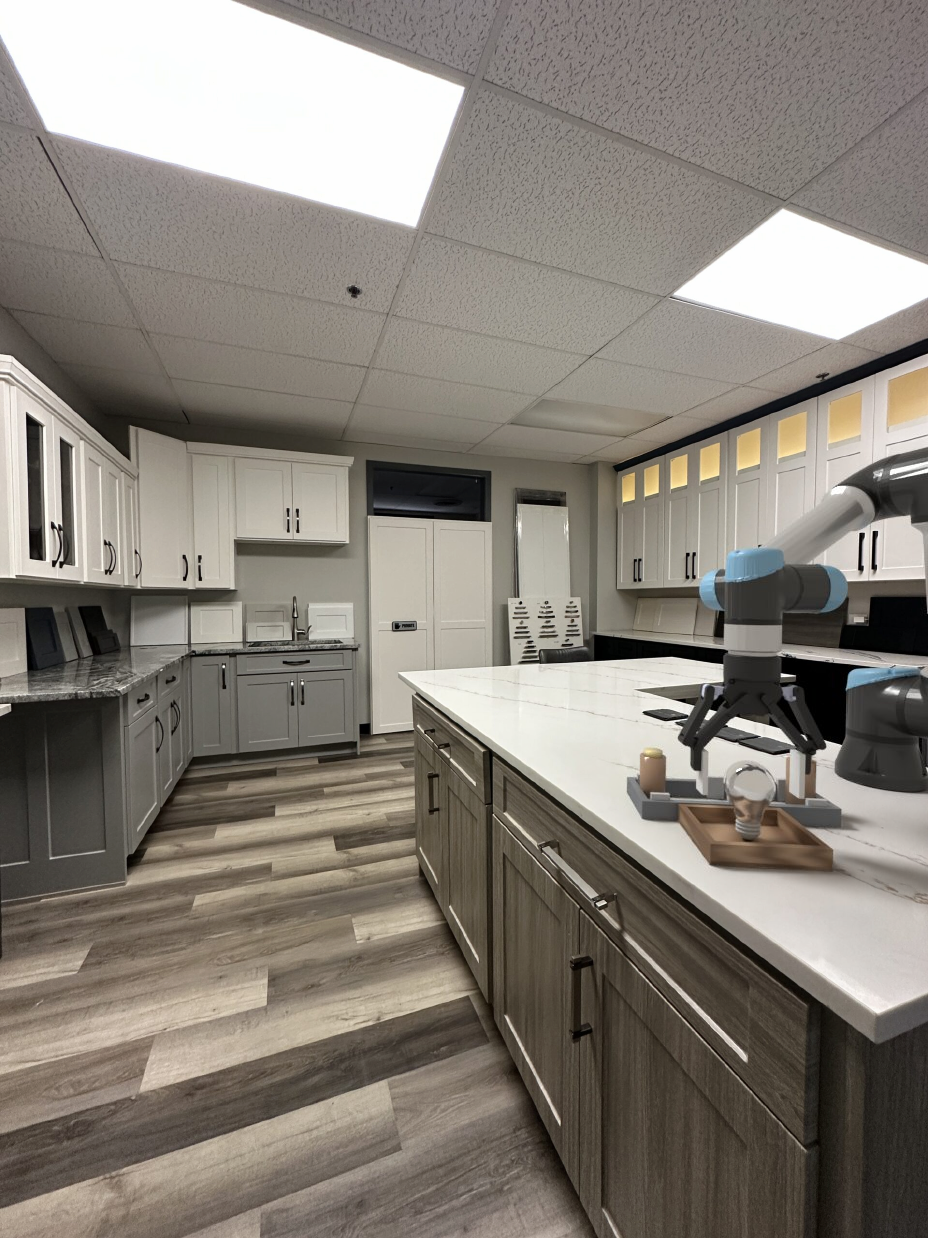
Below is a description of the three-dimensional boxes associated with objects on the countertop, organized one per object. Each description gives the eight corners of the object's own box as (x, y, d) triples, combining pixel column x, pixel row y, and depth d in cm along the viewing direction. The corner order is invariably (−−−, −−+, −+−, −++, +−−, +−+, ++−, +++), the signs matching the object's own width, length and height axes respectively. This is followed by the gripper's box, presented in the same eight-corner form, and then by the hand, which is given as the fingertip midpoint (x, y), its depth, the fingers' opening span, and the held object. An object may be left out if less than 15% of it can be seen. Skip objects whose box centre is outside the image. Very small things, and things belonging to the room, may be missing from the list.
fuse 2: (806, 806, 91) (807, 751, 91) (820, 817, 87) (822, 759, 86) (780, 805, 91) (781, 750, 91) (793, 816, 87) (794, 758, 87)
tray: (779, 826, 83) (780, 808, 83) (832, 871, 69) (833, 849, 69) (678, 821, 85) (678, 803, 85) (710, 865, 71) (710, 844, 71)
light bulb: (782, 853, 73) (784, 770, 73) (729, 848, 74) (731, 766, 74) (764, 832, 80) (766, 756, 79) (716, 827, 81) (718, 753, 81)
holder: (800, 798, 95) (800, 777, 94) (841, 827, 83) (841, 803, 83) (626, 792, 98) (627, 771, 98) (642, 818, 86) (642, 795, 86)
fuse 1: (661, 801, 93) (662, 747, 93) (668, 811, 89) (669, 754, 89) (636, 800, 94) (637, 746, 94) (642, 809, 90) (643, 753, 89)
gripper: (825, 651, 78) (822, 787, 79) (658, 649, 81) (656, 781, 82) (858, 656, 71) (853, 807, 72) (672, 654, 73) (670, 799, 74)
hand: (748, 793), depth 77 cm, fingers open, 13 cm apart
